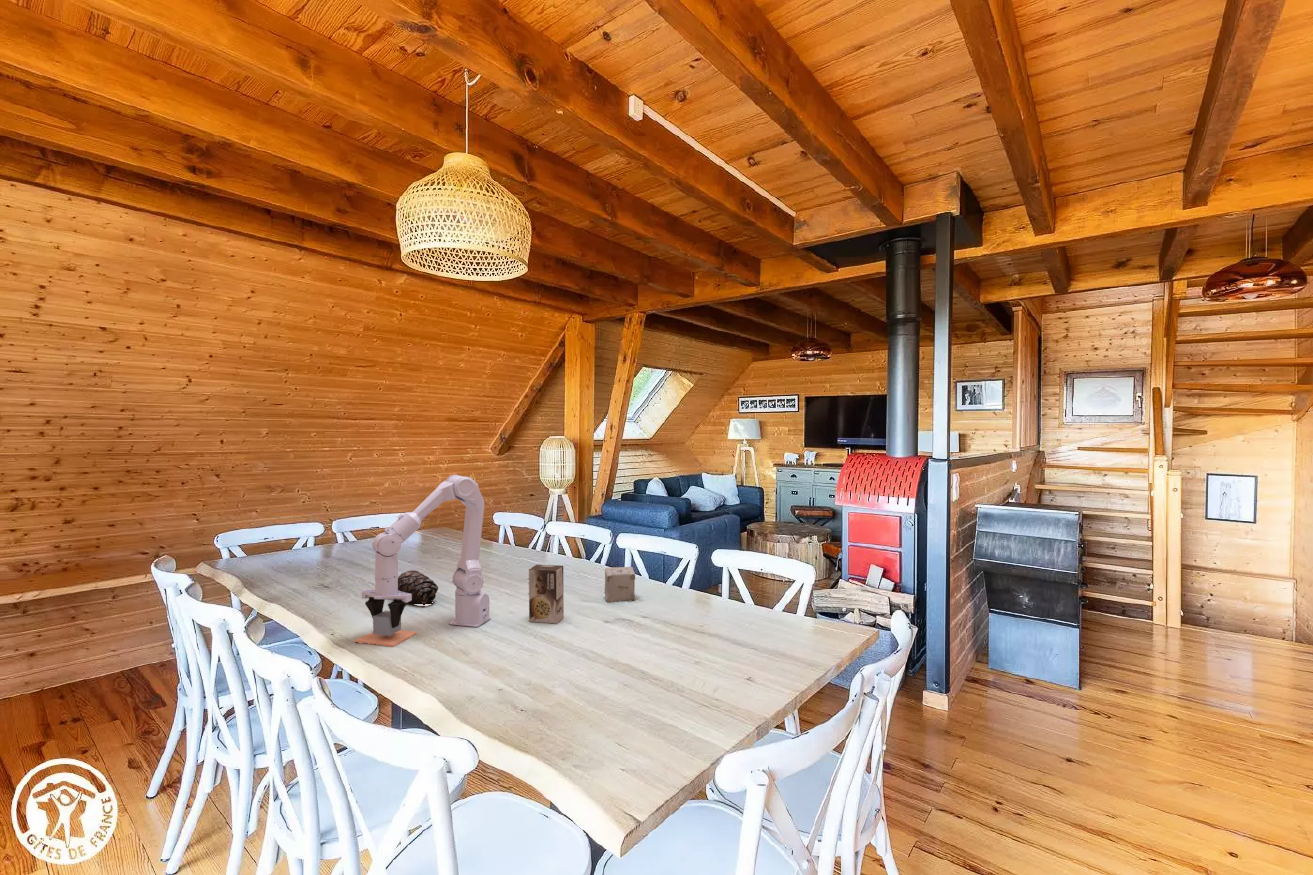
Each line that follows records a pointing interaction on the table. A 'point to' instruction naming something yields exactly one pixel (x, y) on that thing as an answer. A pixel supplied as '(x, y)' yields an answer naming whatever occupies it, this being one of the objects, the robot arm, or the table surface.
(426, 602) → the pine cone
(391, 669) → the table surface
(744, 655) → the table surface
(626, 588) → the brown cardboard box
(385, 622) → the slate block
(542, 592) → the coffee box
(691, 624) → the table surface
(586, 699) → the table surface
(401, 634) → the terracotta tile
